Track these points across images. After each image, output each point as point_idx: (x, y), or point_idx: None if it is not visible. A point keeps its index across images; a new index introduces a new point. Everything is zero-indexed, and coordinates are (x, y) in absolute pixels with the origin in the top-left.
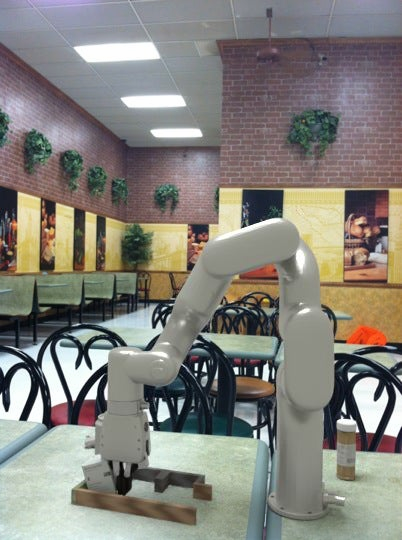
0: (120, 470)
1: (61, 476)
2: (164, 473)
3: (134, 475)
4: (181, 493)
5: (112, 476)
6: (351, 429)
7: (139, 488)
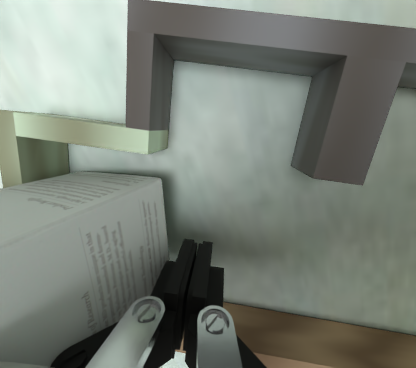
0: (157, 364)
1: None
2: (368, 100)
3: (172, 52)
4: (410, 155)
5: None
6: None
7: (224, 144)
